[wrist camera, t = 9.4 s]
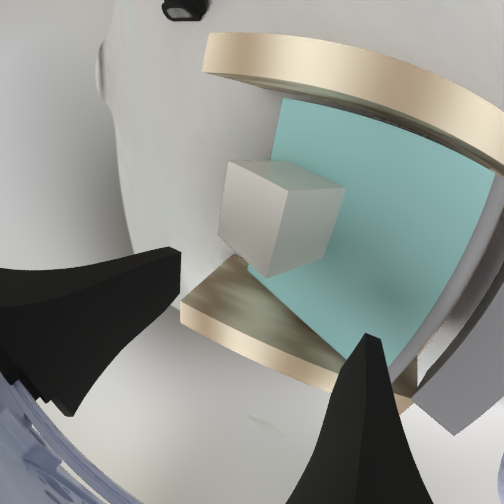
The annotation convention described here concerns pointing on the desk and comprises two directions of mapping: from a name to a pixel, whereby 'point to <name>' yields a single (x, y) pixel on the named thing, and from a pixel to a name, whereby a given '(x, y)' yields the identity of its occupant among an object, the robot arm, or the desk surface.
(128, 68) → the desk surface
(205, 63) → the rail stand
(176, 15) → the electric trimmer
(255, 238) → the gray cube
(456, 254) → the trapdoor
